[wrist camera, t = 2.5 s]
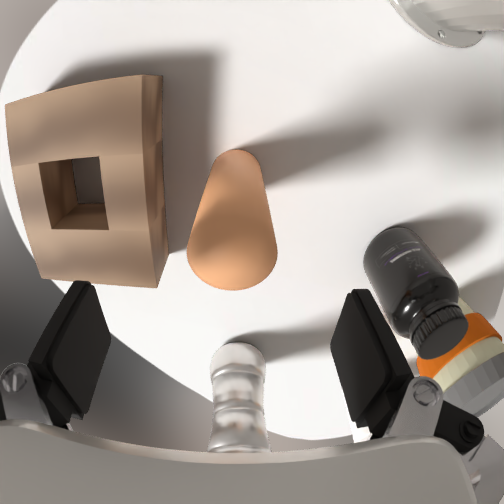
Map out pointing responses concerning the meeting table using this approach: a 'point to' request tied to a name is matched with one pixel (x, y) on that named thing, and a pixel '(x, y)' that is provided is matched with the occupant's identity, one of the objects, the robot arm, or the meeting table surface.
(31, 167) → the socket block
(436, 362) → the reusable coffee cup
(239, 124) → the meeting table surface
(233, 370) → the plastic bottle
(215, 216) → the peg
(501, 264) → the meeting table surface
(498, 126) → the meeting table surface
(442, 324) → the supplement bottle
